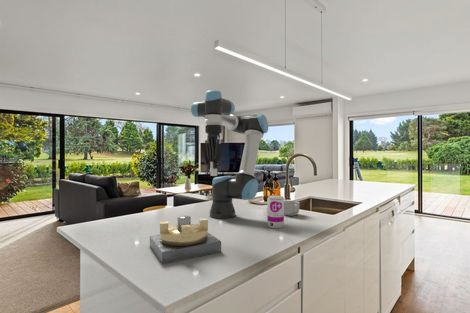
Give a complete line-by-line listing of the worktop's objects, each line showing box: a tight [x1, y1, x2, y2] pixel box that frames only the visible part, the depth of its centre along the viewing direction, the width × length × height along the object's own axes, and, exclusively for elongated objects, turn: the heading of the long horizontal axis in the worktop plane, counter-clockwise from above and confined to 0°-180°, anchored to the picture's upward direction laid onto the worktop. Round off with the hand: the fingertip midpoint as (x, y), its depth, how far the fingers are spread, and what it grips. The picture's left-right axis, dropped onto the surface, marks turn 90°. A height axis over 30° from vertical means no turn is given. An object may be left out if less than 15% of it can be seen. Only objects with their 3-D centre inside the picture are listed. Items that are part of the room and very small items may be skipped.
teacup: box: [284, 200, 300, 217], centre depth 158 cm, size 14×11×8 cm
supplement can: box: [266, 194, 285, 229], centre depth 135 cm, size 8×8×15 cm
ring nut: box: [159, 215, 209, 246], centre depth 104 cm, size 18×18×8 cm
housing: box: [149, 232, 222, 265], centre depth 104 cm, size 20×22×4 cm
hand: (213, 175), depth 125 cm, fingers closed
